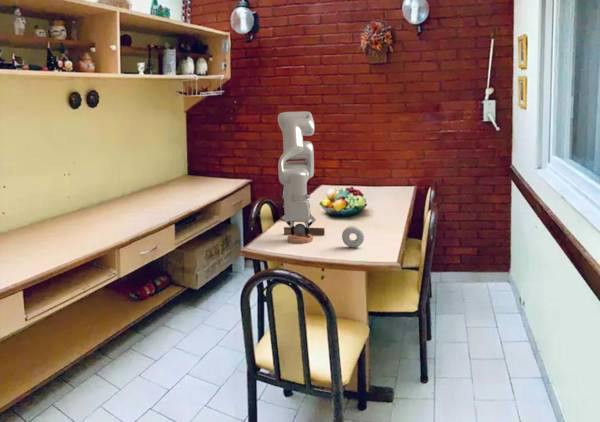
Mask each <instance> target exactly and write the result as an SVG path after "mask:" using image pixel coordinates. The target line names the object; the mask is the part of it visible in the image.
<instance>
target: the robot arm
mask: <svg viewBox="0 0 600 422" xmlns="http://www.w3.org/2000/svg"><path fill="white" fill-rule="evenodd" d="M277 123H278V126H279V128H280V130H281V132H282V137H283V138H282V140H283V141H282V143H283V153H282V154H281V155H280V157H279V160H278V165H277V168H278V171H277V172H278V180H279V182H280V184H281V185H283V201H284V202H283V205H284V206H283V207H284V209H283V210H284V211H283V212H284V215H283V216H281V220H282V219H283V220H282V221H284V222H285V223H286V224H287V226H288V227H291V234H292V236H294V234H295V233H294V227H295V223H304V226H305V227H306V228H305V236H307V235H308V234H309V228H310V227H311V225H312V224H314V223H315V222H316V220H317V219H316V218H315V217H314V215H313V214H312V213H311V205H310V204H311V202H310V200H309V199H311V195H309V194H308V191H307V190H308V185H307V183H308V181H309V180H310V179H312V178H313V177H314V174H315V153H314V152H315V151H314V145H313V143H312V141H308V140H304V137H305V136H306V137H307V136H308V137H309V136H313V135H314V134H315V120H314V117H313V115H312V113H311V112H310V111H284V112H281V113H279V114H278V115H277ZM287 160H289V161H287ZM291 160H293V161H291Z"/></svg>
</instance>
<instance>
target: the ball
mask: <svg viewBox="0 0 600 422" xmlns="http://www.w3.org/2000/svg"><path fill="white" fill-rule="evenodd" d="M305 228H306V225H305V224H303V223H297V224H294V233H295V235H297V236H303V235H304V234H305Z"/></svg>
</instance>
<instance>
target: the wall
mask: <svg viewBox="0 0 600 422" xmlns="http://www.w3.org/2000/svg"><path fill="white" fill-rule="evenodd" d="M325 233H326V232H325V227H309V234H310V235H312V236H322V237H323V236H324V237H325ZM283 235H286V236H289V235H292V234H291V227H290V226H284V227H283Z"/></svg>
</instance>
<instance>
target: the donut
mask: <svg viewBox="0 0 600 422" xmlns="http://www.w3.org/2000/svg"><path fill="white" fill-rule="evenodd" d="M352 234H353V235H355V236H356V238H355V239H352V238H350V235H352ZM341 239H342V242H343V243H344V245H346V246H347V247H349V248H358V247H360V246H361V245H362V244H363V242H364V240H365V233H364V231H363V230H362V229H361V228H360V227H359V226H355V225H349V226H347V227H346V228H344V229H343V231H342V233H341Z"/></svg>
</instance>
